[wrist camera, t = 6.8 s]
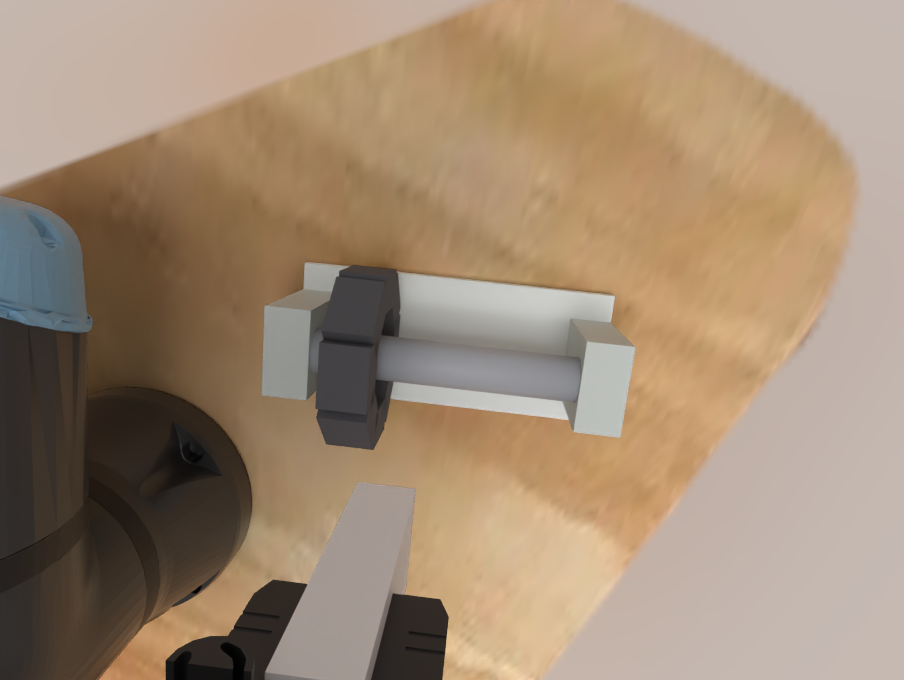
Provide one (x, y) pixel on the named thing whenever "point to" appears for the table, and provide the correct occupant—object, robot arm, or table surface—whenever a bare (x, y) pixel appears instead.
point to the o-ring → (356, 356)
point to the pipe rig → (470, 348)
